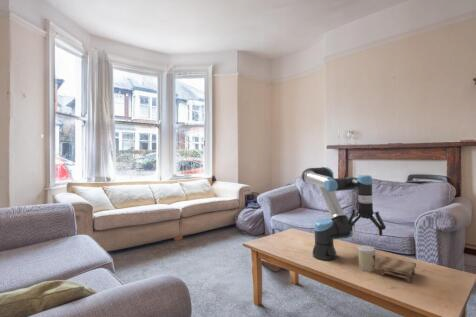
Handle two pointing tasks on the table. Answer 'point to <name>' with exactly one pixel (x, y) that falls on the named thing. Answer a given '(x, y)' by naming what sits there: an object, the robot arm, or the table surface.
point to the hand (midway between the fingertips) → (366, 238)
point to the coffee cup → (366, 258)
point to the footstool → (397, 267)
